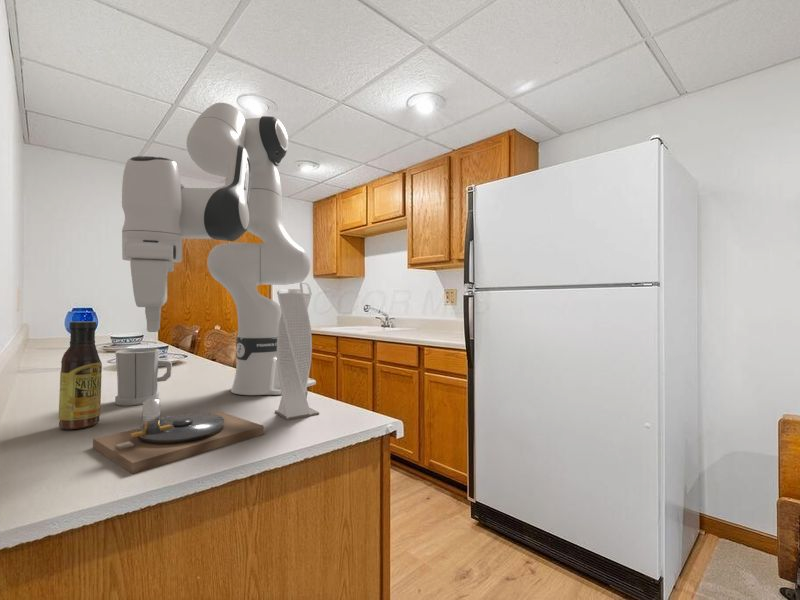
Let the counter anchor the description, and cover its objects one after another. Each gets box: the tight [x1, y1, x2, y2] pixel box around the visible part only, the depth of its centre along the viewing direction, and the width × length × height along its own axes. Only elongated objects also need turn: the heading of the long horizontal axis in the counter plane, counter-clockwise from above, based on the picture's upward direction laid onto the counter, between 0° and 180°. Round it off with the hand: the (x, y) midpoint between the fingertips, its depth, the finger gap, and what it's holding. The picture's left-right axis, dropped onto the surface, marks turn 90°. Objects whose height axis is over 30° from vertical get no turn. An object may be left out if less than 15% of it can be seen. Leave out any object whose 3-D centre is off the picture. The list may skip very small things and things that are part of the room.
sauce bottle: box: [58, 320, 103, 431], centre depth 78 cm, size 7×6×20 cm
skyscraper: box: [274, 280, 320, 421], centre depth 86 cm, size 8×8×28 cm
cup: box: [114, 347, 173, 407], centre depth 97 cm, size 10×9×12 cm
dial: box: [131, 397, 224, 444], centre depth 69 cm, size 14×13×6 cm
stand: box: [92, 410, 265, 475], centre depth 70 cm, size 21×16×2 cm
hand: (153, 331), depth 71 cm, fingers closed
